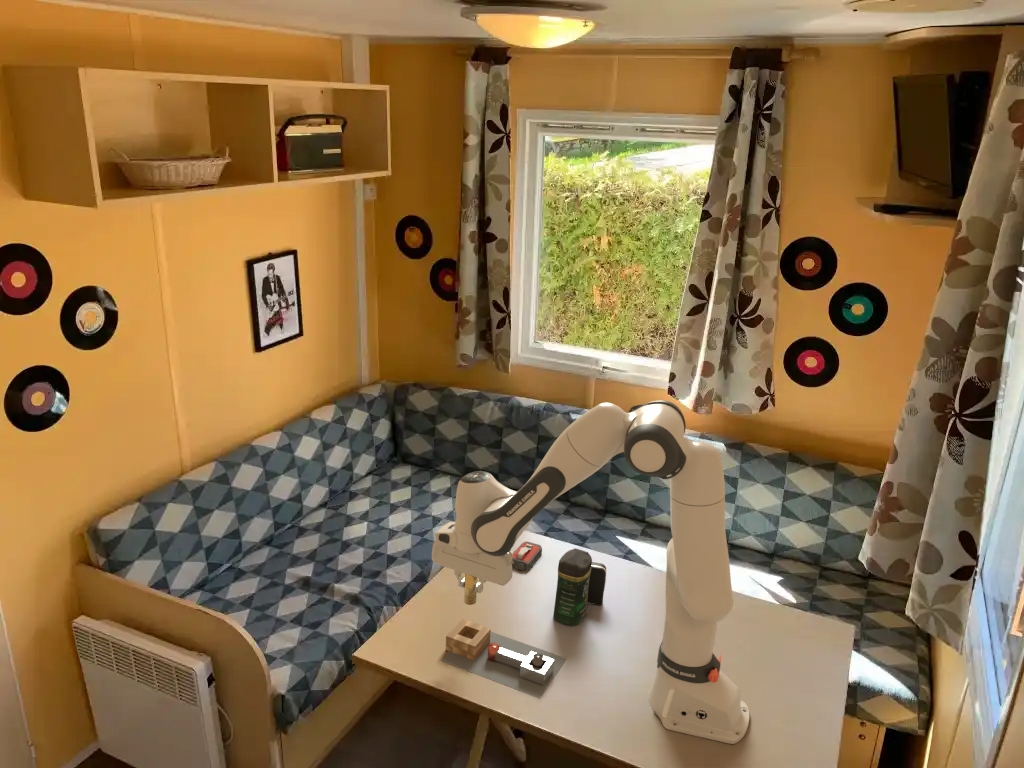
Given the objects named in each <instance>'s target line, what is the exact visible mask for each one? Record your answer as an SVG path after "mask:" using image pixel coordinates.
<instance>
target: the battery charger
mask: <svg viewBox="0 0 1024 768" xmlns="http://www.w3.org/2000/svg"><path fill="white" fill-rule="evenodd" d="M606 583H607V567H606V565H605V564H603V563H599V562H593V561H592V567H591V573H590V580H589V589H588V602H587V604H591V605H599V606H602V605H603V604H604V593H605V590H606V589H605V588H606Z"/></svg>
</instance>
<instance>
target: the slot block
mask: <svg viewBox="0 0 1024 768" xmlns="http://www.w3.org/2000/svg"><path fill="white" fill-rule="evenodd" d="M491 630H492V628H489V627H487V626H484V625H480V624H478V623H475V622H472V621H470V620H468V619H464V618H462V619H461V620H460V621H458V623H457V624H456V625H455V626H454V627H452V629H451V630H450V631H449V632H448V633H447V634H446V637H445V651H448V652H449V651H450V652H453V653H455V654H458V655H461V656H463V657H466V658H469V659H472V660H474V661H475V659H476V658H477V657H478V656H479V655H480V654H481V652H482V651H483V650H484V649H485V648H486V647H487V645H488V644H489V643H490V634H491V632H492V631H491Z"/></svg>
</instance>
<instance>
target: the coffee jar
mask: <svg viewBox="0 0 1024 768" xmlns="http://www.w3.org/2000/svg"><path fill="white" fill-rule="evenodd" d="M592 562H593V557H592V556H591V554H590V553H589V552H588V551H585V550H582V549H579V548H572V549H569V550H568V551H566V552H565V553H564V554H563V555H562V556H561V557H560V559H559V561H558V566H557V583H556V591H555V600H554V607H553V608H554V609H553V619H554V620H555V621H556V622H558V623H559V624H562V625H564V626H567V627H568V626H569V627H577V626H579V625H580V624H581V623H582V622H583V620H584V619H585V617H586V615H587V612H588V603H587V602H588V589H589V580H590V573H591V567H592Z"/></svg>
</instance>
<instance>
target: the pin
mask: <svg viewBox="0 0 1024 768" xmlns="http://www.w3.org/2000/svg"><path fill="white" fill-rule="evenodd" d="M464 578H465V586H464V588H463V590H464V591H463V603H464V604H466V605H469V606H473V605H475V604H476V603H477V593H478V592H475V591H474V590H475V588H474V587H475V585H476V584H477V583H478V578H477V577H474V576H471V575H468V574H465V573H464Z"/></svg>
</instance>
